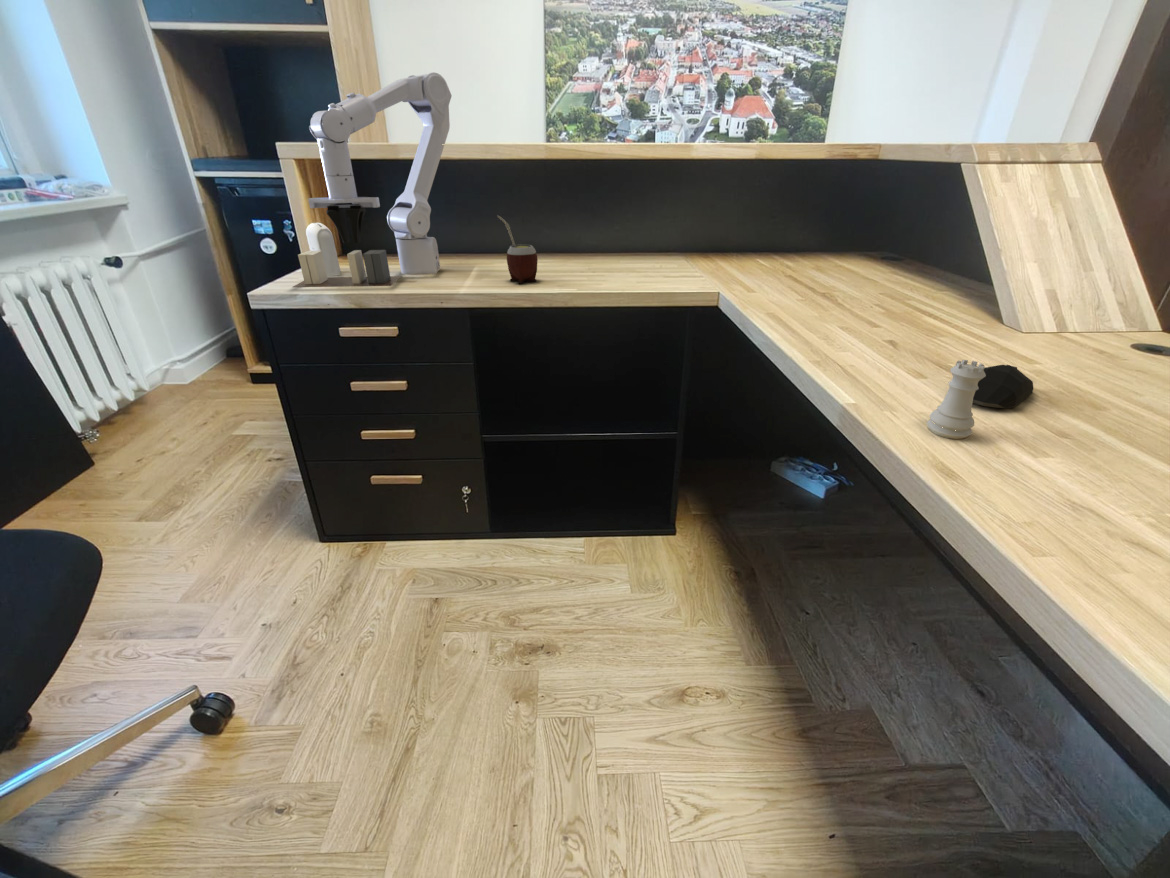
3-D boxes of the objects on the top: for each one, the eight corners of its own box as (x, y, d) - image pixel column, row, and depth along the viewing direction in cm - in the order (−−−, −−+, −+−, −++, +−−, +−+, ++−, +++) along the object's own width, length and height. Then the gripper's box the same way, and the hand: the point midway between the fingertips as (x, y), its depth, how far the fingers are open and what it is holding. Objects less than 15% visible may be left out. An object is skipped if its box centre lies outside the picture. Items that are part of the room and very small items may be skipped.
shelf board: (402, 279, 134) (402, 276, 133) (391, 289, 125) (390, 285, 124) (310, 280, 133) (309, 277, 133) (292, 290, 124) (291, 287, 124)
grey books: (390, 278, 131) (385, 249, 128) (384, 283, 127) (379, 253, 123) (374, 278, 131) (369, 250, 128) (368, 283, 126) (362, 253, 123)
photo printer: (313, 273, 140) (301, 221, 134) (330, 271, 143) (319, 220, 137) (326, 280, 133) (313, 225, 127) (344, 277, 136) (332, 224, 130)
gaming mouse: (1049, 387, 73) (1061, 358, 71) (1001, 416, 66) (1014, 385, 64) (996, 373, 78) (1006, 345, 76) (946, 399, 70) (955, 369, 68)
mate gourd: (541, 278, 133) (538, 211, 126) (533, 286, 126) (530, 215, 119) (511, 277, 134) (506, 211, 127) (502, 285, 127) (496, 215, 120)
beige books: (328, 279, 131) (321, 250, 127) (320, 284, 126) (313, 254, 123) (313, 279, 130) (306, 250, 127) (304, 284, 126) (297, 254, 123)
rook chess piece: (921, 420, 65) (941, 355, 61) (964, 424, 64) (988, 358, 60) (930, 437, 61) (952, 369, 57) (976, 442, 60) (1002, 373, 56)
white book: (366, 278, 131) (361, 250, 128) (359, 283, 126) (354, 254, 123) (359, 278, 131) (354, 250, 128) (352, 283, 126) (346, 254, 123)
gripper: (296, 176, 114) (312, 245, 121) (367, 176, 115) (379, 244, 121) (310, 175, 121) (324, 240, 127) (377, 174, 121) (388, 239, 127)
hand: (352, 242), depth 124 cm, fingers closed
